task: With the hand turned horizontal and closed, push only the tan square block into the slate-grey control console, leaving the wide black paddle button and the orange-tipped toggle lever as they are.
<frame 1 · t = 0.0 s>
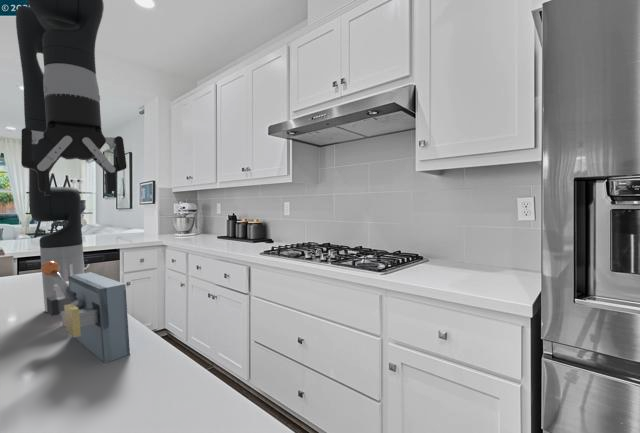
hand: (79, 194, 56), 29 cm above the counter, tool pointing down, fingers open, 8 cm apart
tan square block: (82, 317, 57), point 8 cm above the counter, slide at 0.0 cm
console: (99, 344, 65), on the counter
smoothie: (73, 323, 79), on the counter
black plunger: (62, 303, 66), point 8 cm above the counter, slide at 0.0 cm
lever: (63, 285, 61), point 13 cm above the counter, hinge at 25.0°
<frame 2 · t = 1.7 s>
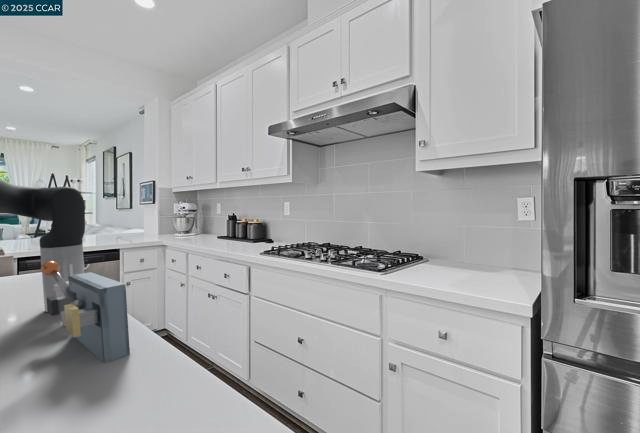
nothing on the counter moved.
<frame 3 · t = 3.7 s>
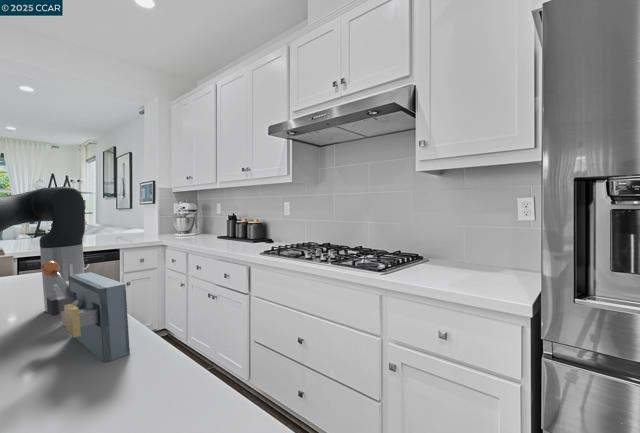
nothing on the counter moved.
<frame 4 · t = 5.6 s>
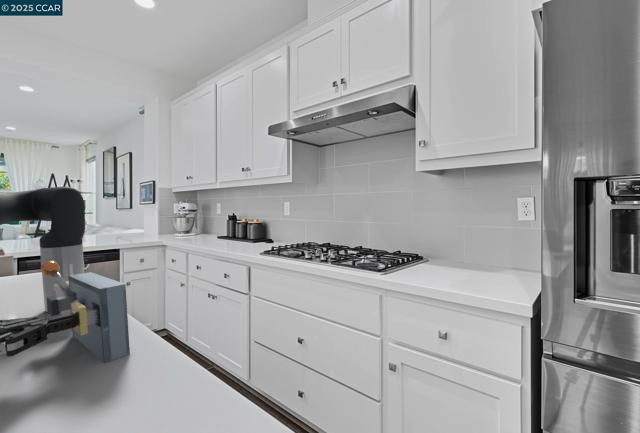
hand: (75, 319, 57), 8 cm above the counter, tool horizontal, fingers closed
tan square block: (89, 315, 58), point 8 cm above the counter, slide at 1.0 cm, touching gripper
everything else where it was.
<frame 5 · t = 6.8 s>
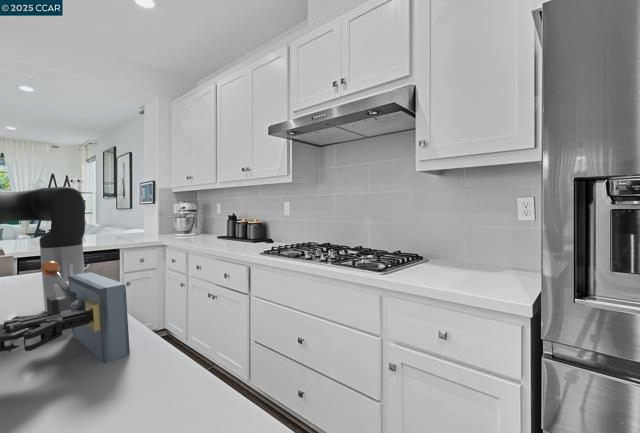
hand: (89, 316, 58), 8 cm above the counter, tool horizontal, fingers closed
tan square block: (102, 312, 60), point 8 cm above the counter, slide at 3.0 cm, touching console
everything else where it was.
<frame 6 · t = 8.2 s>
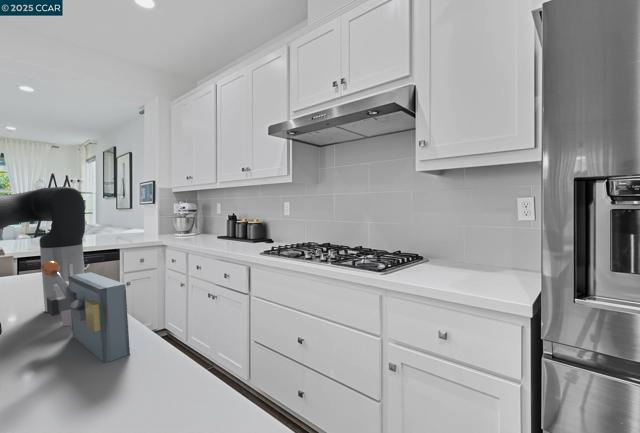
hand: (0, 326, 50), 10 cm above the counter, tool horizontal, fingers closed
nothing on the counter moved.
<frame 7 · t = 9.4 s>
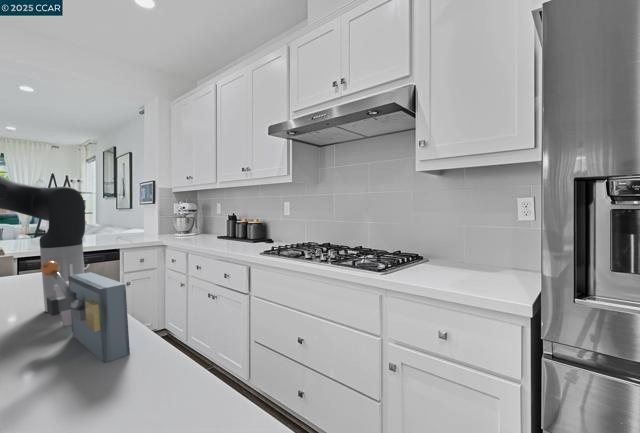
hand: (6, 191, 51), 30 cm above the counter, tool horizontal, fingers closed
nothing on the counter moved.
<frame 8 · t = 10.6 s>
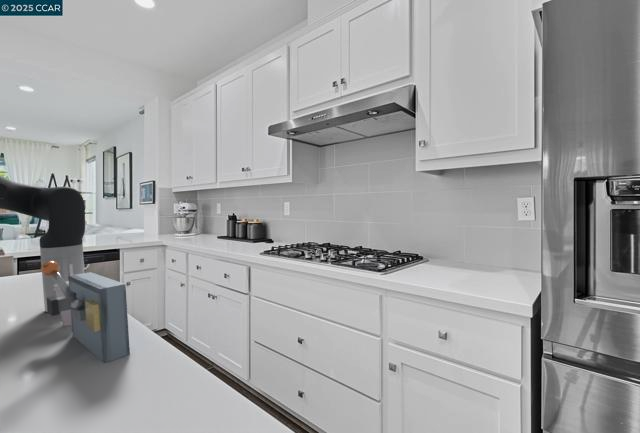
hand: (6, 191, 51), 30 cm above the counter, tool horizontal, fingers closed
nothing on the counter moved.
at the end: tan square block slide at 3.0 cm; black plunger slide at 0.0 cm; lever at +25° (first picture: +25°) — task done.
